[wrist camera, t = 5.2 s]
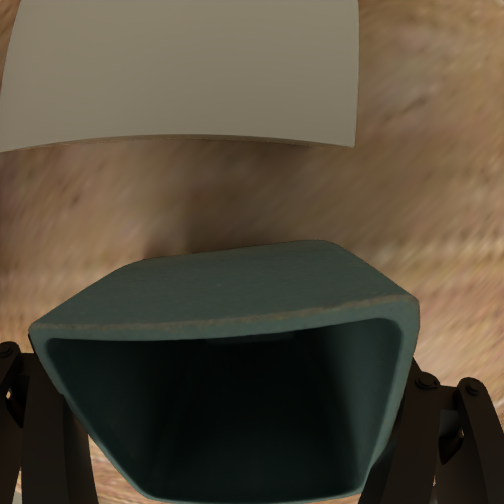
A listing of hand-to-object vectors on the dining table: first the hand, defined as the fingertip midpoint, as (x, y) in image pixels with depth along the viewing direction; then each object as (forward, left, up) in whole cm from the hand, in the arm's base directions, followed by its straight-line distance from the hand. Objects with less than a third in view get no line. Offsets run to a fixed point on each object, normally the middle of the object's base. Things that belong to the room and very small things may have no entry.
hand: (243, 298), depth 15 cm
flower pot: (0, 0, 0) cm, 0 cm away
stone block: (+3, -13, 0) cm, 13 cm away
